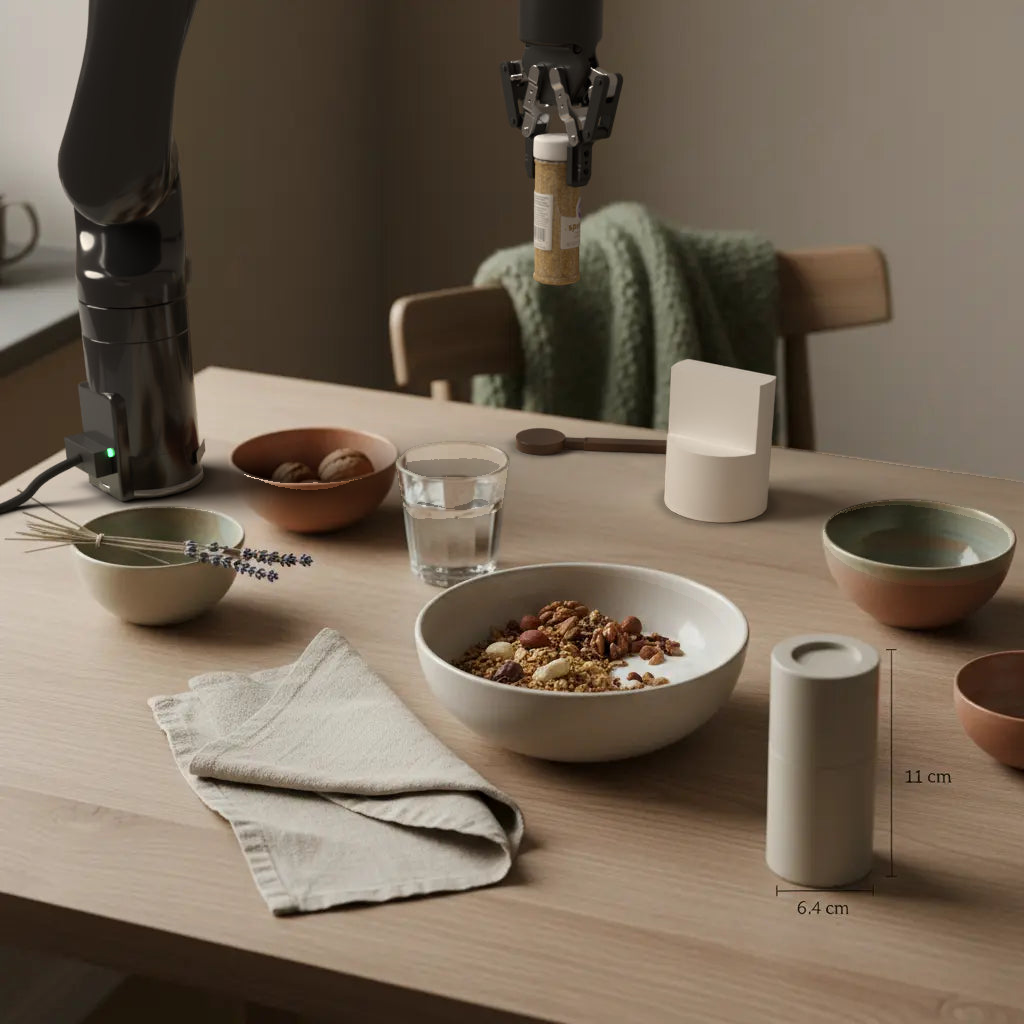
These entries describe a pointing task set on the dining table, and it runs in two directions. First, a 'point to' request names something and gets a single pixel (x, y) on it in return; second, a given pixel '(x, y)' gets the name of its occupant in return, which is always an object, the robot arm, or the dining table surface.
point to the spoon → (581, 443)
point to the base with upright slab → (718, 442)
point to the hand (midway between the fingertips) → (557, 181)
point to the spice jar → (555, 213)
